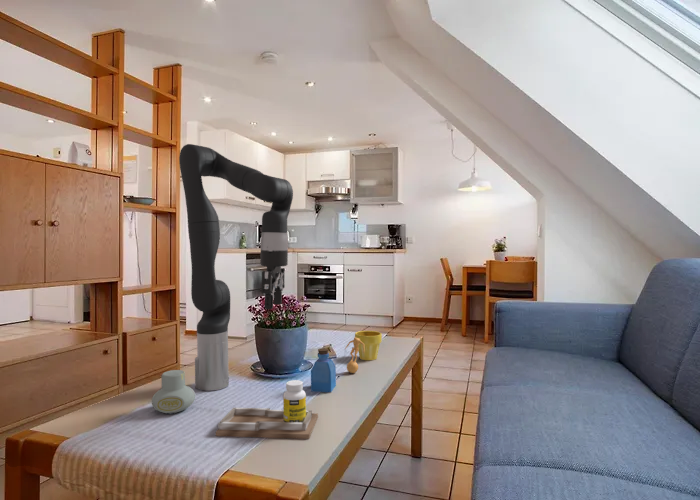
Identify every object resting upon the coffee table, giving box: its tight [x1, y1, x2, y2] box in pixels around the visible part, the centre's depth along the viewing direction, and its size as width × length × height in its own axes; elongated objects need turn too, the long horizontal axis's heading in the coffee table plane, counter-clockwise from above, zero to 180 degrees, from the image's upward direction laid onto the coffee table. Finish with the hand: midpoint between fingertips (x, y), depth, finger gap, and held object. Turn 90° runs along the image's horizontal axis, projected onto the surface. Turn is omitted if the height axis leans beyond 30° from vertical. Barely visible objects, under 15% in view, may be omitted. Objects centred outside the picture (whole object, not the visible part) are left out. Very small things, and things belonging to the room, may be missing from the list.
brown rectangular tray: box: [215, 407, 319, 440], centre depth 104 cm, size 22×12×2 cm, turn 85°
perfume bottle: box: [310, 347, 337, 393], centre depth 131 cm, size 6×6×12 cm
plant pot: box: [354, 330, 383, 362], centre depth 165 cm, size 10×10×10 cm
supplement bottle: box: [282, 379, 307, 423], centre depth 104 cm, size 5×5×10 cm
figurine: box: [344, 336, 365, 374], centre depth 148 cm, size 8×6×12 cm
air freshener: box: [150, 369, 196, 414], centre depth 116 cm, size 11×8×10 cm
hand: (273, 306), depth 121 cm, fingers open, 8 cm apart
